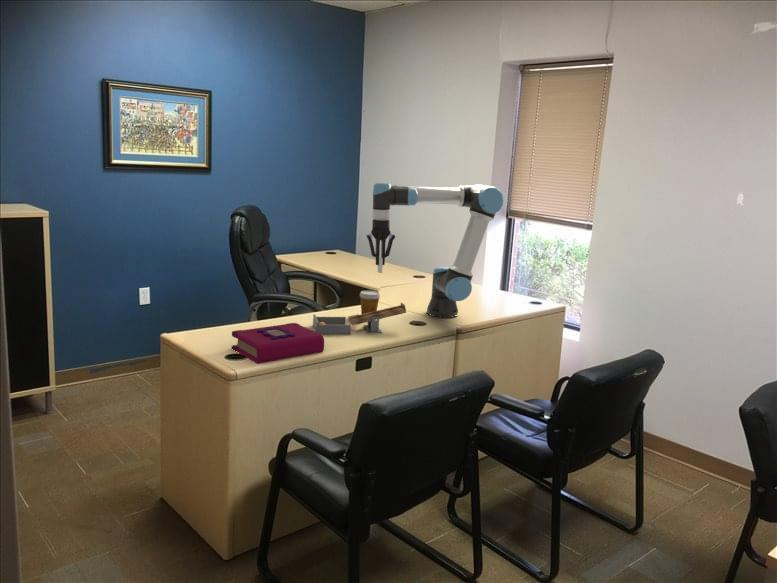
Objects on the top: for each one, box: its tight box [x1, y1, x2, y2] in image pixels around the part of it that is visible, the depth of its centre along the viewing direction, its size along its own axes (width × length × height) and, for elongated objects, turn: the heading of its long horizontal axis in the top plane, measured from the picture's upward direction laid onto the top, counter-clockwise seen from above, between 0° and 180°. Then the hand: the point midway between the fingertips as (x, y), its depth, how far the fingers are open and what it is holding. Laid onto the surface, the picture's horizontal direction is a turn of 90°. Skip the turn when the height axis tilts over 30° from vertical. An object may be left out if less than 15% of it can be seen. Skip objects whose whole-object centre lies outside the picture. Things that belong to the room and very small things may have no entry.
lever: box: [347, 302, 407, 326], centre depth 280 cm, size 24×11×3 cm, turn 102°
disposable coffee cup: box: [359, 290, 381, 315], centre depth 297 cm, size 10×10×12 cm
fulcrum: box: [363, 312, 383, 334], centre depth 278 cm, size 6×11×7 cm, turn 13°
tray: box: [312, 314, 352, 335], centre depth 274 cm, size 14×14×5 cm
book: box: [231, 322, 325, 364], centre depth 242 cm, size 21×28×8 cm
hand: (379, 272), depth 287 cm, fingers closed
